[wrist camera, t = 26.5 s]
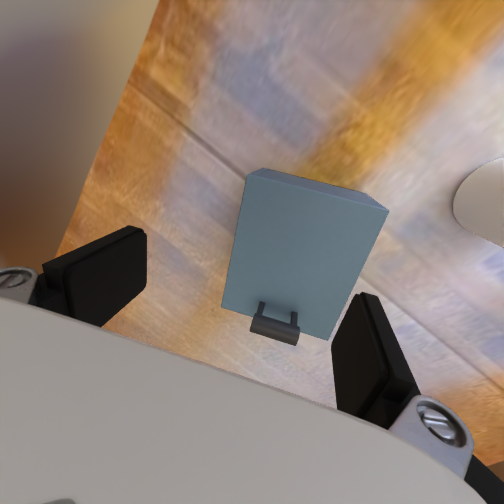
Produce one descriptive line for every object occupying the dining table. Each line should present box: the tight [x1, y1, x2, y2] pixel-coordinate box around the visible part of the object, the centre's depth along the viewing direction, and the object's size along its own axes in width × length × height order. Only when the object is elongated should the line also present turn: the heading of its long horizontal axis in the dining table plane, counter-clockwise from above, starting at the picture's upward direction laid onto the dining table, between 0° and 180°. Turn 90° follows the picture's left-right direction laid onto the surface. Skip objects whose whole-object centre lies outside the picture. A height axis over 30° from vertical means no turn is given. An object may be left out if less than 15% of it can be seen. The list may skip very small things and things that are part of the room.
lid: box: [221, 174, 389, 346], centre depth 25 cm, size 17×14×5 cm
